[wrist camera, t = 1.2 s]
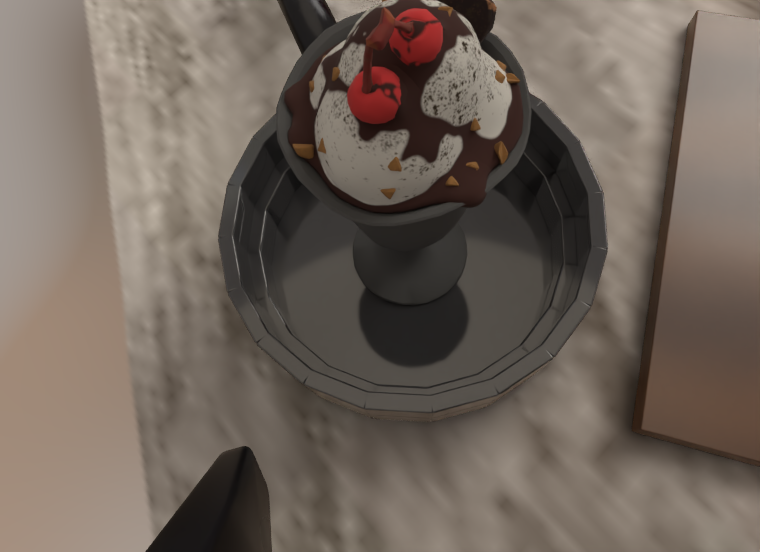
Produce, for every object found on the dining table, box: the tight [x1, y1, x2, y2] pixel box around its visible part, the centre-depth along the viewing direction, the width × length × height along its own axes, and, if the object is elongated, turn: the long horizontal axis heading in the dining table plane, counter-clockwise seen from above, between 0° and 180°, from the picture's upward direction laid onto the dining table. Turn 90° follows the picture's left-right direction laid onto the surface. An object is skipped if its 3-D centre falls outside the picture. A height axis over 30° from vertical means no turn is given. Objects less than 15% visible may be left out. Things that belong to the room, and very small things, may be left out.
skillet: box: [218, 93, 608, 422], centre depth 22 cm, size 14×14×4 cm
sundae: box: [276, 0, 531, 305], centre depth 17 cm, size 7×7×15 cm
